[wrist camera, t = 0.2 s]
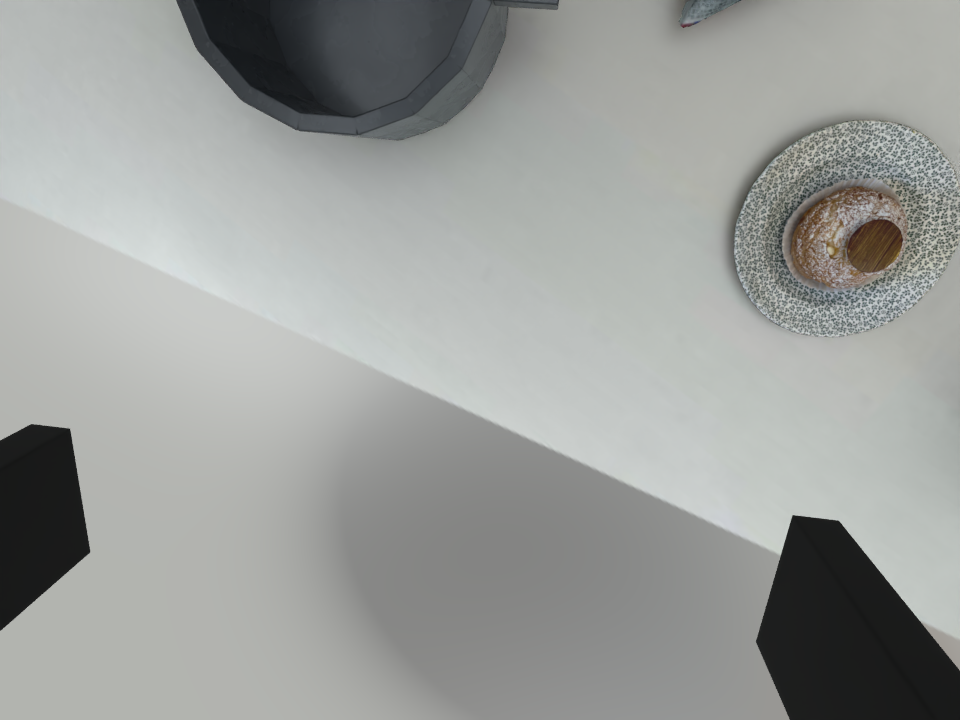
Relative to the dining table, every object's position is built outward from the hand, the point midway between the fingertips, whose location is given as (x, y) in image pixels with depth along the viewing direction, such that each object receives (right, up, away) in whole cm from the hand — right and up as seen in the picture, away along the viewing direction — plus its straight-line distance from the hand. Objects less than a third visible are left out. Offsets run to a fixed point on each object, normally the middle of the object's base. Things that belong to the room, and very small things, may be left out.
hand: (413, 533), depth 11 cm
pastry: (+22, +11, +24) cm, 34 cm away
